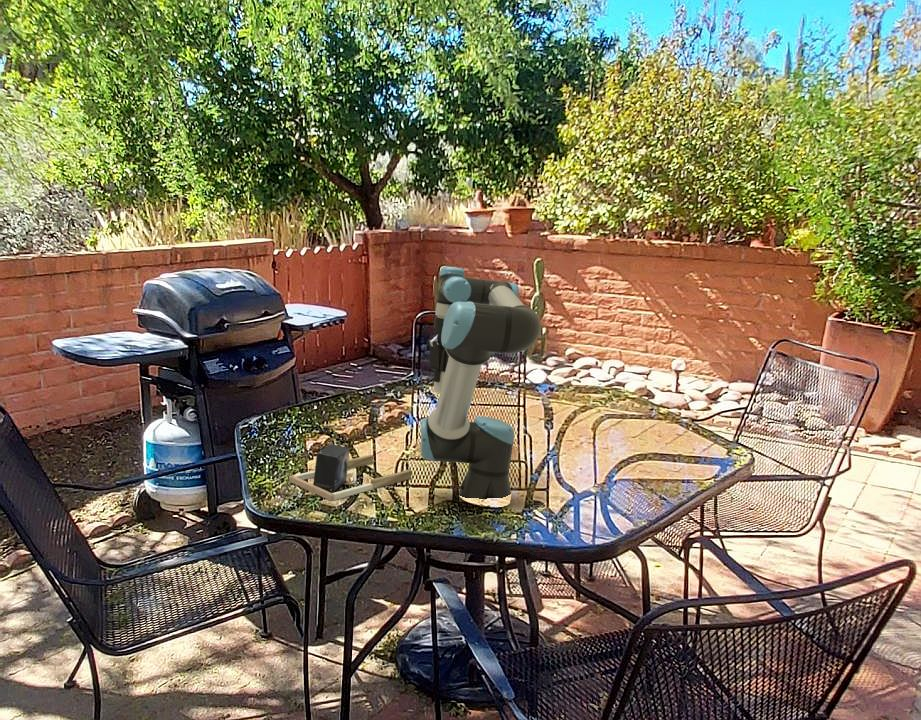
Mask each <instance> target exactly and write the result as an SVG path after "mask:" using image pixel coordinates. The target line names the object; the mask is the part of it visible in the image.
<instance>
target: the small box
mask: <svg viewBox="0 0 921 720" xmlns="http://www.w3.org/2000/svg"><path fill="white" fill-rule="evenodd" d="M315 457H316V458H315V464H314V465H315V467H314V471H315V475H314V477H313V485H315V486H317V487H319V488H321V489H323V490H326V491H328V492H330V493H335V491H337V490H339V489H340V487H341V486H342V485H344V484H345V483H347V478H348V477H347V475H348V469H347V468H348V460H349V459H350V458H349V457H350V447H347V446H342V445H337V444H333V443H329V444H328V445H327V446H325V447H324V448H322V449H321V450H319V451H318V452H316V456H315Z"/></svg>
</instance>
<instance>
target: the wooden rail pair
mask: <svg viewBox="0 0 921 720" xmlns="http://www.w3.org/2000/svg"><path fill="white" fill-rule="evenodd" d="M373 463H374V455H373V454H368V455H363V456H359V457H354V458H349V459H348V468H347V470H350V469H354V468H355V469H356V468H359V467H363V466H367V465H372V464H373ZM412 472H413V470H412V469H406V470H402V471H399V472H394V473H391V474H387V475H383V476H379V477H376V478H372V479H371V480H370V483H371V484H373V489H372V490H375V489H378V488H383V487H387V486H390V485H394V484H397V483H400V482H401V483H402V482H405V481H407V480H411V479H412V475H413V473H412Z"/></svg>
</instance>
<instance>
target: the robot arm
mask: <svg viewBox="0 0 921 720" xmlns="http://www.w3.org/2000/svg"><path fill="white" fill-rule="evenodd" d="M465 274H466V273H465V269H464V268H461V267H456V266H446V265H445V266H441V268H440V271H439V276H438V290H437V298H436V306H435V316H434V320H433V321H434V322H433V329H434V330H435V332H434V335H433V338H432V339H428V340H427V343H428V346H429V363H430V364H429V366H430V370H432V371H434V378H433V389H432V390H433V392H435V393H438V394H439V396H438V401H437V404H436V408H435V409H433V410H432V411H431V412H430V413H429V415H428V417H425V418H424V417H423V418H422V419H421V422H420V450H421V451H420V452H421V457H422V458H423V459H424V460H425V461H433V462H444V463H462V464H468V468H467V472H466V474H465V476H464V478H463V480H462V482H461V485H460V486H459V490H458V496H459V495H460V496H462V497H465V498H479V499H487V498H503V497H506V496H508V495H510V494H511V493H512V490H511V482H510V477H509V474H510V466H511V460H512V454H513V446H514V444H515V442H514V440H515V431H514V428H513V427H512V426H511V425H510V424H509V423H508V422H505V421H503V420H501V419H497V418H495V417H491V416H490V417H489V416H485V415H481V416H479V415H478V416H475V418H474V420H473V421H470V420H469V417H468V415H469V410H470V407H471V404H472V399H473V397H474V393H475V389H476V387H477V386H476V385H477V383H478V380H479V379H478V378H479V376H480V372H481V370H482V365H484V364H486V363H487V362H488V361H489V360H490V359H491V356H492V354H501V355H502V354H504V355H511V354H514V355H515V354H519V353H522V352H523V351H526V350H527V349H529V348H531V347H532V346H533V345H534V344H535V343H536V342H537V340H538V338H539V337H540V334H541V331H542V322H541V319H540V317H539V315H538V313H537V312H536V311H535V310H534V309H532V307H530V306H528V305H525V304H524V303H523V302H522V301H521V300H520V298H519V297H520V296H519V294H520V291H519V286H518V284H517V283H513V282H509V281H501V280H500V281H499V280H490V279H484V278H474V277H466V275H465Z"/></svg>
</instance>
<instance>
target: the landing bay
mask: <svg viewBox="0 0 921 720" xmlns="http://www.w3.org/2000/svg"><path fill="white" fill-rule="evenodd" d="M314 475H315V470H311V471H307V472H302V473H299V474H294V475H293V474H292V475H289V478H288V482H290V483H292V484H294V485H296V486H298V487H300V488H303V489H304V490H307V491H309V492H311V493H313V494H315V495H318V496H320V497H322V498H323V499H325V500H328V501H330V502H331V501H335V500H339V499H340V500H341V499H342V498H347V497H351V496H354V495H358V494H360V493H364V492H368V491H372V490H374V489H373V484H371V482H369V483H365V484H363V485H362V484H360V485H358V486H354V487H351V488H350V487H349V488H346V489H343V490H338V491H336V492H335V491H334V492H333V493H332V492H328V491H326V490H323V489H321V488H319V487H317V486H315V485H313V484H312V483H310V482H308V481H306V480H308V479H312V478H313V479H314Z"/></svg>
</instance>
